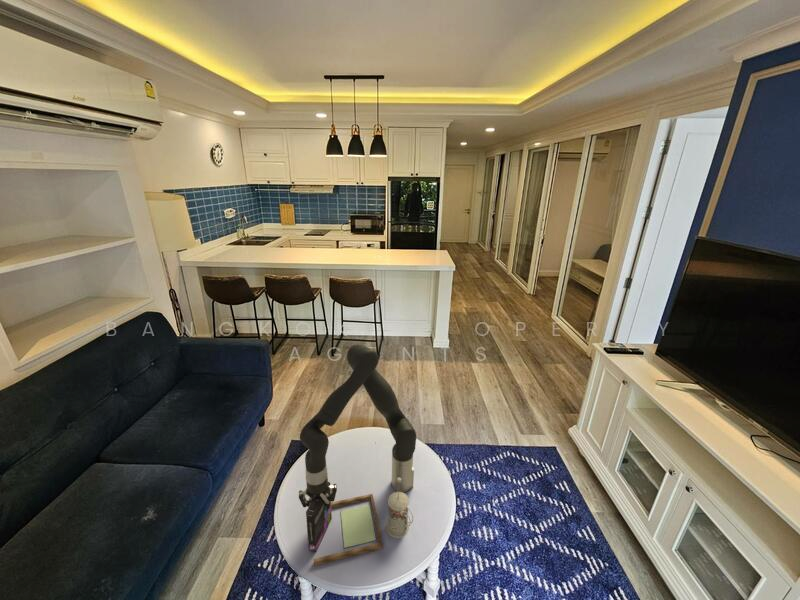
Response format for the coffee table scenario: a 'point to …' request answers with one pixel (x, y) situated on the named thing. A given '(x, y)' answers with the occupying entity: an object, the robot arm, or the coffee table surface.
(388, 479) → the coffee table surface
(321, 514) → the box
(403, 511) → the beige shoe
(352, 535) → the bay
